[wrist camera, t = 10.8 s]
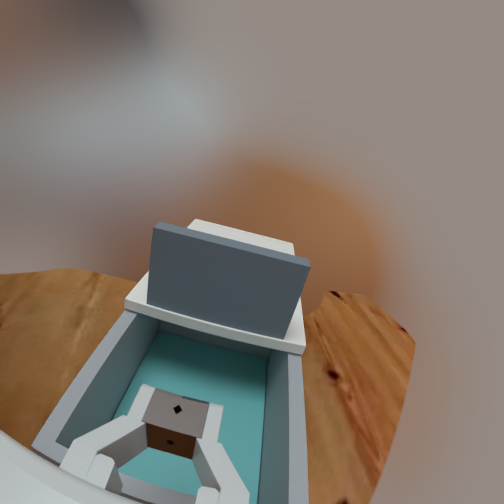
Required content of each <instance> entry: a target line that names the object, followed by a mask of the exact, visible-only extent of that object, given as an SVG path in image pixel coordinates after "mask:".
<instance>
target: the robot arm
mask: <svg viewBox="0 0 504 504" xmlns="http://www.w3.org/2000/svg"><path fill="white" fill-rule="evenodd" d="M223 410H224V406H223V405H218V404H214V403H209V402H207V401H202V400H198V399H194V398H190V397H186V396H181V395H178V394H174V393H171V392H168V391H165V390H162V389H159V388H156V387H153V386H150V385H147V384H144V383H143V384H142V385H141V387H140V389H139V391H138V393H137V395H136V397H135V399H134V401H133V403H132V406H131V408H130V410H129V412H128V414H127V416H125V415H122V416H120V417H118V418H116V419H114V420H112V421H110V422H108V423H106V424H105V425H103V426H101V427H99V428H97V429H95V430H93V431H91V432H89V433H87V434H85V435H83V436H81V437H79V438H77V439H75V440H73V442H72V444H71V446H70V448H69V450H68V451H67V453H66V455H65V457H64V459H63V461H62V463H61V465H60V467H58V466H56V465H54V464H52V463H51V462H49V461H47V460H45V459H44V458H42V457H40V456H39V455H37V454H35V453H34V452H32V451H31V450H29V449H28V448H26V447H25V446H23V445H22V444H20V443H19V442H17V441H16V440H14V439H13V438H11V437H10V436H9V435H7V434H6V433H4V432H3V431H2V430H0V504H143V503H140V502H137V501H134V500H131V499H128V498H126V497H123V496H120V493H121V490H122V487H123V484H122V481H121V478H120V476H119V473H118V470H117V469H119V468H120V467H122V466H123V465H124V464H126V463H127V462H129V461H130V460H132V459H133V458H134V457H136V456H137V455H139V454H140V453H141V452H143V451H144V450H145V449H147V447H150V448H153V449H156V450H160V451H163V452H167V453H171V454H174V455H177V456H181V457H184V458H188V459H191V460H192V462H193V465H194V467H195V469H196V472H197V474H198V477H199V479H200V482H201V484H202V487H200V488H199V489H198V492H197V495H196V498H195V501H194V504H249V497H250V493H249V491H248V490H247V488H246V486H245V485H244V483H243V481H242V480H241V478H240V476H239V474H238V473H237V471H236V469H235V467H234V465H233V464H232V462H231V460H230V458H229V456H228V455H227V453H226V451H225V449H224V447H223V445H222V443H218V437H219V432H220V426H221V421H222V415H223ZM207 411H208V412H207Z"/></svg>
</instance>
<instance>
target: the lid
mask: <svg viewBox="0 0 504 504" xmlns="http://www.w3.org/2000/svg"><path fill="white" fill-rule="evenodd" d="M310 268H311V267H310V263H309V259H306V258H302V257H298V256H295V255H294V248H293V243H289V242H285V241H281V240H277V239H274V238H270V237H265V236H262V235H258V234H254V233H250V232H246V231H242V230H238V229H234V228H230V227H226V226H222V225H218V224H214V223H210V222H206V221H202V220H198V219H195V220H194V221H193V222H192V223H191V224H190V225H189V226H188V227H187V228H184V227H180V226H176V225H172V224H168V223H164V222H159V223H158V224H157V225H156V226H154V228H153V235H152V244H151V254H150V265H149V271H148V272H147V273H146V274H145V276H144V277H143V278H142V279H141V280H140V281H139V282H138V284H137V285H136V286H135V287H134V288H133V290H132V291H131V292H130V293H129V294H128V295H127V297H126V298H125V308H126V309H129V310H132V311H135V312H138V313H141V314H144V315H147V316H151V317H154V318H157V319H160V320H164V321H167V322H170V323H174V324H177V325H180V326H184V327H187V328H191V329H194V330H198V331H202V332H205V333H209V334H213V335H217V336H221V337H225V338H229V339H233V340H237V341H241V342H245V343H249V344H254V345H258V346H263V347H267V348H272V349H277V350H281V351H286V352H291V353H296V354H301V355H302V354H303V352H304V350H305V347H306V341H305V333H304V324H303V315H302V307H301V300H300V295H301V293H302V290H303V287H304V284H305V282H306V279H307V276H308V273H309V270H310Z"/></svg>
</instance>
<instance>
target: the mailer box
mask: <svg viewBox="0 0 504 504" xmlns="http://www.w3.org/2000/svg"><path fill="white" fill-rule="evenodd" d="M143 383H144V384H147V385H150V386H153V387H156V388H159V389H162V390H165V391H168V392H171V393H174V394H178V395H181V396H186V397H190V398H194V399H198V400H202V401H207V402H209V403H214V404H218V405H223V406H224V410H223V415H222V421H221V426H220V432H219V437H218V443H222V445H223V447H224V449H225V451H226V453H227V455H228V456H229V458H230V460H231V462H232V464H233V465H234V467H235V469H236V471H237V473H238V474H239V476H240V478H241V480H242V481H243V483H244V485H245V486H246V488H247V490H248V491H249V493H250V497H249V504H309V499H308V465H307V442H306V422H305V406H304V390H303V376H302V363H301V354H296V353H291V352H286V351H281V350H277V349H272V348H267V347H263V346H258V345H254V344H249V343H245V342H241V341H237V340H233V339H229V338H225V337H221V336H217V335H213V334H209V333H205V332H202V331H198V330H194V329H191V328H187V327H184V326H180V325H177V324H174V323H170V322H167V321H164V320H160V319H157V318H154V317H151V316H147V315H144V314H141V313H138V312H135V311H132V310H129V309H126V310H125V311H124V312H123V314H122V315H121V316H120V317H119V319H118V320H117V321H116V323H115V324H114V325H113V327H112V328H111V329H110V331H109V332H108V333H107V335H106V336H105V337H104V339H103V340H102V341H101V343H100V344H99V345H98V347H97V348H96V349H95V351H94V352H93V354H92V355H91V356H90V358H89V359H88V361H87V362H86V363H85V365H84V366H83V368H82V369H81V370H80V372H79V373H78V375H77V376H76V378H75V379H74V380H73V382H72V383H71V385H70V386H69V388H68V389H67V391H66V392H65V394H64V395H63V397H62V398H61V399H60V401H59V402H58V404H57V406H56V407H55V409H54V410H53V412H52V413H51V415H50V416H49V418H48V419H47V421H46V422H45V424H44V426H43V427H42V429H41V430H40V432H39V434H38V435H37V437H36V438H35V440H34V442H33V443H32V445H31V447H32V448H33V450H34V451H35V452H36V454H37V455H39V456H40V457H42V458H44V459H45V460H47V461H49V462H51V463H52V464H54V465H56V466H58V467H60V465H61V463H62V461H63V459H64V457H65V455H66V453H67V451H68V450H69V448H70V446H71V444H72V442H73V440H75V439H77V438H79V437H81V436H83V435H85V434H87V433H89V432H91V431H93V430H95V429H97V428H99V427H101V426H103V425H105V424H106V423H108V422H110V421H112V420H114V419H116V418H118V417H120V416H122V415H125V416H127V414H128V412H129V410H130V408H131V406H132V403H133V401H134V399H135V397H136V395H137V393H138V391H139V389H140V387H141V385H142V384H143ZM207 412H208V411H207ZM117 470H118V473H119V476H120V478H121V481H122V484H123V487H122V490H121V493H120V496H123V497H126V498H128V499H131V500H134V501H137V502H140V503H143V504H194V501H195V498H196V495H197V492H198V489H199V488H200V487H202V484H201V482H200V479H199V477H198V474H197V472H196V469H195V467H194V465H193V462H192V460H191V459H188V458H184V457H181V456H177V455H174V454H171V453H167V452H163V451H160V450H156V449H153V448H150V447H147V449H145V450H144V451H143V452H141V453H140V454H139V455H137V456H136V457H134V458H133V459H132V460H130V461H129V462H127V463H126V464H124V465H123V466H122V467H120V468H119V469H117Z"/></svg>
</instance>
